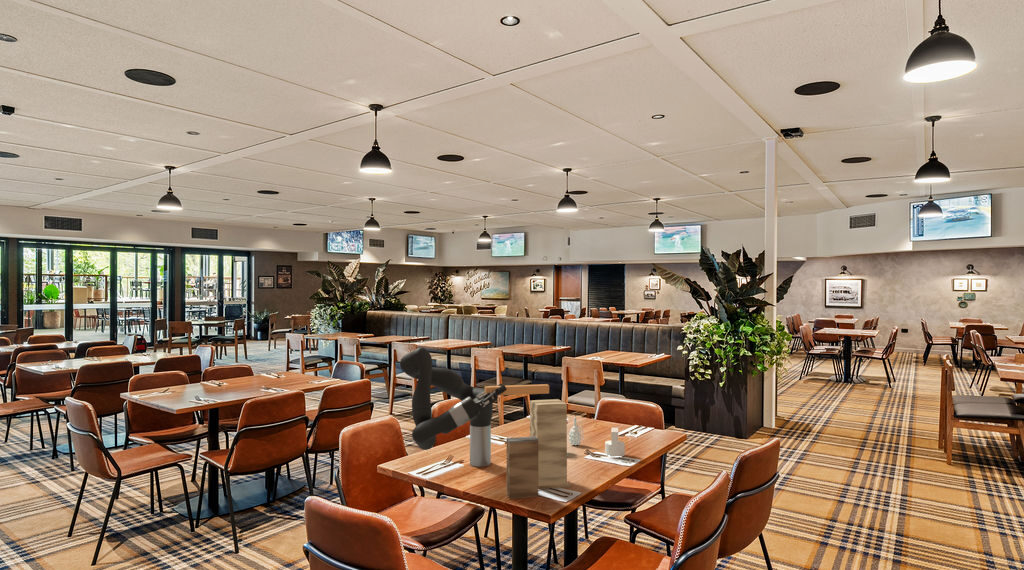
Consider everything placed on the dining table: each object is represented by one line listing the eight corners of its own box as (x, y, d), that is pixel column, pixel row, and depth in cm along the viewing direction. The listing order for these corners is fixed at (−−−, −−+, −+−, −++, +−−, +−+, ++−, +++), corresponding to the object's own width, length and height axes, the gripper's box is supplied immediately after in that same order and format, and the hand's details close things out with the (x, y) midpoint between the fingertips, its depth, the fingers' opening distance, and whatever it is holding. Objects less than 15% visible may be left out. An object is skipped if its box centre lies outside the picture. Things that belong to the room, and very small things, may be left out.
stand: (527, 480, 223) (526, 400, 224) (560, 477, 227) (559, 398, 228) (535, 490, 212) (535, 405, 212) (570, 486, 215) (570, 403, 216)
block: (506, 494, 207) (506, 438, 207) (534, 492, 209) (534, 436, 210) (509, 499, 202) (509, 441, 203) (538, 496, 205) (538, 439, 205)
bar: (484, 394, 205) (484, 386, 205) (546, 392, 211) (546, 384, 211) (486, 395, 202) (486, 387, 202) (549, 393, 208) (549, 385, 208)
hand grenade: (567, 446, 274) (567, 417, 274) (570, 443, 280) (570, 415, 280) (582, 447, 271) (582, 419, 271) (585, 444, 277) (585, 416, 277)
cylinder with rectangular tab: (624, 459, 253) (624, 432, 253) (604, 457, 254) (604, 431, 255) (624, 453, 261) (624, 427, 262) (605, 452, 263) (605, 427, 263)
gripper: (461, 406, 194) (503, 380, 198) (455, 399, 207) (495, 375, 211) (472, 424, 195) (513, 398, 199) (465, 416, 208) (504, 391, 212)
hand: (504, 386), depth 205 cm, fingers closed on bar, 3 cm apart
